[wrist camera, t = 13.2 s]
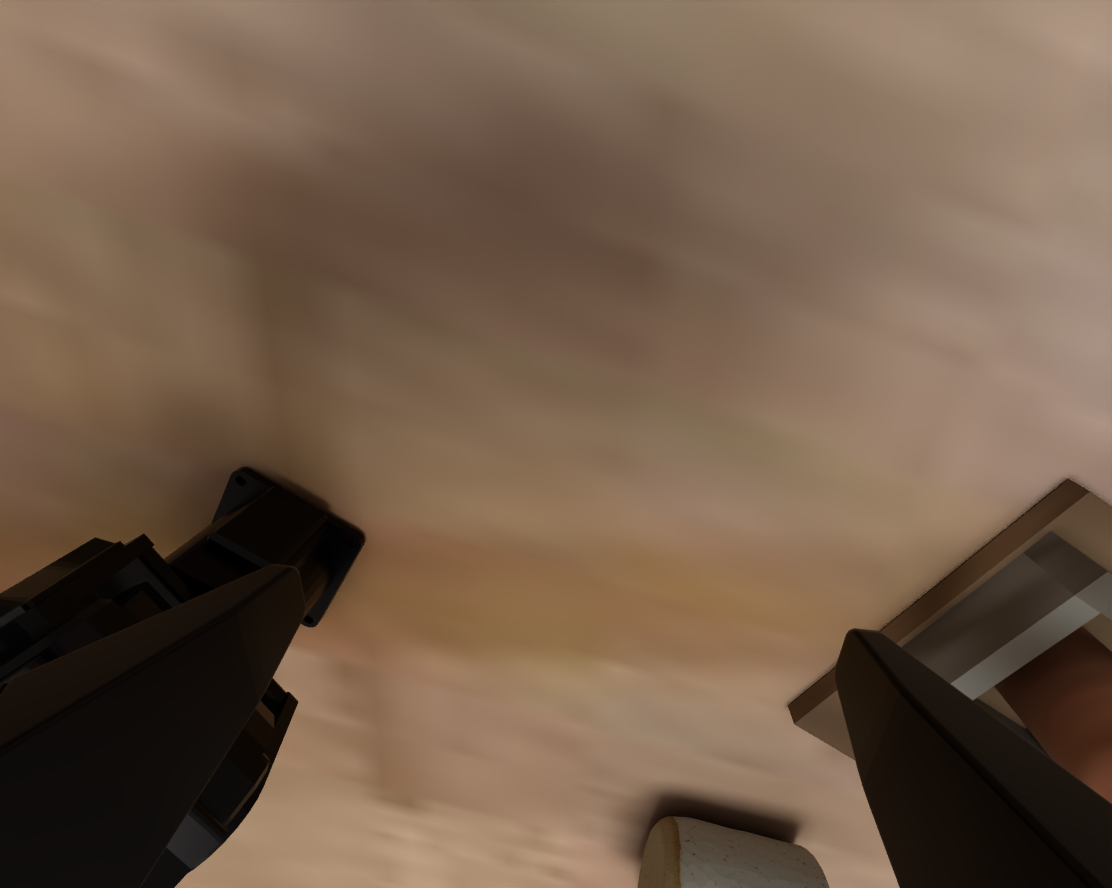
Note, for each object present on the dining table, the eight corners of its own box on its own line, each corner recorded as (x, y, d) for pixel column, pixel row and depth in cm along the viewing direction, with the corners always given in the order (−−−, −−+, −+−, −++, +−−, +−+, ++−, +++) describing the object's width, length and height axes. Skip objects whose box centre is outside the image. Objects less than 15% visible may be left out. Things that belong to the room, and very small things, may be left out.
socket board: (1003, 835, 27) (1054, 917, 24) (787, 705, 25) (811, 775, 22) (1322, 660, 21) (1444, 737, 18) (1068, 479, 20) (1154, 528, 17)
